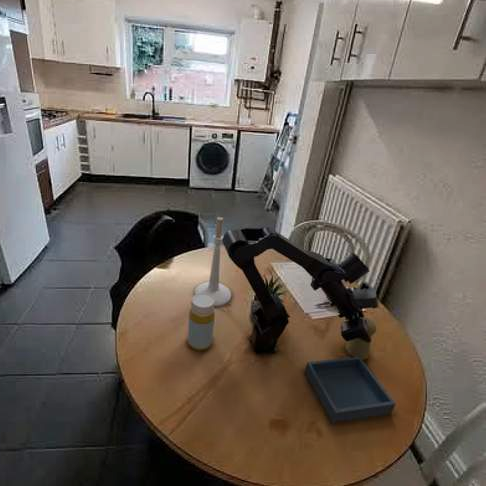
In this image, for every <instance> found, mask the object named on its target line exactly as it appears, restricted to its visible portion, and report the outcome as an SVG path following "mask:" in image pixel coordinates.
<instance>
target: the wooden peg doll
mask: <svg viewBox="0 0 486 486" xmlns="http://www.w3.org/2000/svg"><path fill="white" fill-rule="evenodd" d="M361 318H362V319H363V320H366V321H367V329H368V334H369V336H370V338H371V339H372V337H373V335H374V334H375V333H376V331H377V324H376V323H375V322H374V321H373V320H372V319H371V318H369V317H365V316H364V317H361ZM371 343H372V341H371V342H369V343H368V342H366V341H364V340H362V339H360V338H356V339H354V340H351V341H348V342H347V344H346V346H345V349H346V352H347V353H348V354H349V355H350V357H360V358H361V359H362V360H367V359H368V358H369V355H370V354H369V353H370V349H371Z"/></svg>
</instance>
